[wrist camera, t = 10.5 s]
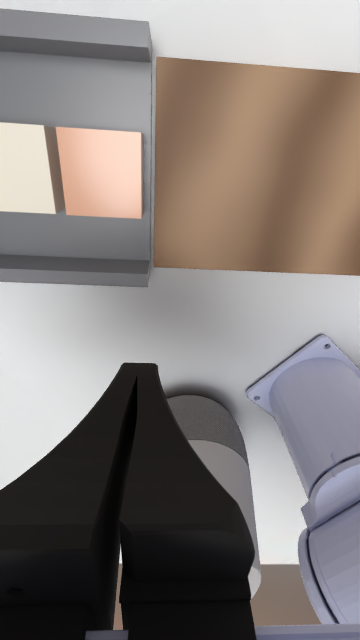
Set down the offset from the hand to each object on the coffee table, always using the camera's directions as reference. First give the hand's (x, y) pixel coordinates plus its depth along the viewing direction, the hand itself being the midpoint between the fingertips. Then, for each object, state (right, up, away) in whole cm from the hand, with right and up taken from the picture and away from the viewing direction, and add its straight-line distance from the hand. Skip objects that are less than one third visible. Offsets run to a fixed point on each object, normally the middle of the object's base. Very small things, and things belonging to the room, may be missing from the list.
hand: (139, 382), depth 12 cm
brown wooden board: (+8, +11, +6) cm, 15 cm away
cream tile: (-7, +11, +5) cm, 14 cm away
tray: (-6, +11, +5) cm, 13 cm away
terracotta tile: (-2, +11, +5) cm, 12 cm away
